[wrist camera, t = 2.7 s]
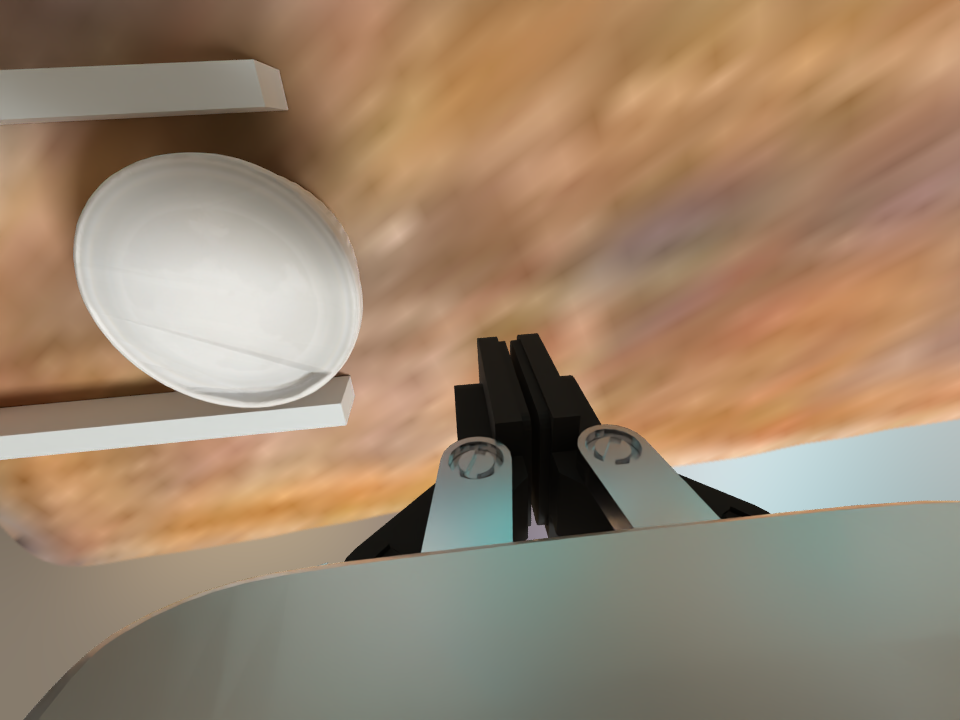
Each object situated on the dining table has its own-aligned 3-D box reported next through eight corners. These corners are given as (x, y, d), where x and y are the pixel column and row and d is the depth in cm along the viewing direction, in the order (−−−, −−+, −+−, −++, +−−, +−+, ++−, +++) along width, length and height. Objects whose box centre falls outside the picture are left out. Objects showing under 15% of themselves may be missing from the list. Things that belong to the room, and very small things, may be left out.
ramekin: (216, 376, 25) (167, 432, 20) (97, 176, 19) (-7, 190, 15) (399, 337, 25) (392, 383, 20) (332, 125, 19) (301, 123, 15)
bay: (-286, 95, 17) (-448, 86, 14) (279, 69, 18) (248, 57, 15) (-19, 431, 25) (-83, 473, 22) (355, 395, 26) (344, 430, 23)
